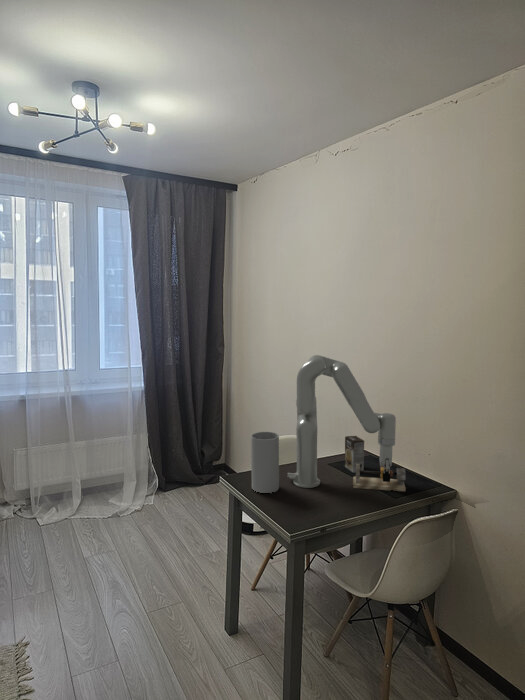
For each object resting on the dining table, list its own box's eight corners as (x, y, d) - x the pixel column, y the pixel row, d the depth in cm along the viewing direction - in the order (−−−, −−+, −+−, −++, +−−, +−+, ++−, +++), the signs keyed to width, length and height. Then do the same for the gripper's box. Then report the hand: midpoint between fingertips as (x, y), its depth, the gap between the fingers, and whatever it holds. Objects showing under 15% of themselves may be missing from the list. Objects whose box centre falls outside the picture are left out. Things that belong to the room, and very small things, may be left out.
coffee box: (344, 466, 237) (344, 436, 235) (355, 465, 239) (355, 435, 237) (352, 473, 228) (353, 441, 227) (364, 471, 230) (364, 440, 229)
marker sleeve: (380, 479, 210) (381, 470, 210) (380, 475, 215) (380, 466, 214) (390, 479, 210) (390, 470, 209) (389, 476, 214) (389, 467, 213)
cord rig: (353, 487, 210) (353, 469, 209) (353, 479, 220) (353, 462, 219) (405, 491, 206) (406, 472, 205) (403, 482, 216) (403, 465, 215)
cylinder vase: (279, 494, 204) (279, 439, 201) (251, 494, 204) (250, 440, 201) (278, 483, 216) (278, 431, 213) (251, 483, 216) (251, 431, 213)
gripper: (377, 434, 219) (376, 471, 221) (379, 446, 202) (378, 485, 204) (393, 435, 218) (392, 472, 220) (397, 447, 201) (396, 486, 203)
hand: (385, 478), depth 212 cm, fingers open, 6 cm apart
